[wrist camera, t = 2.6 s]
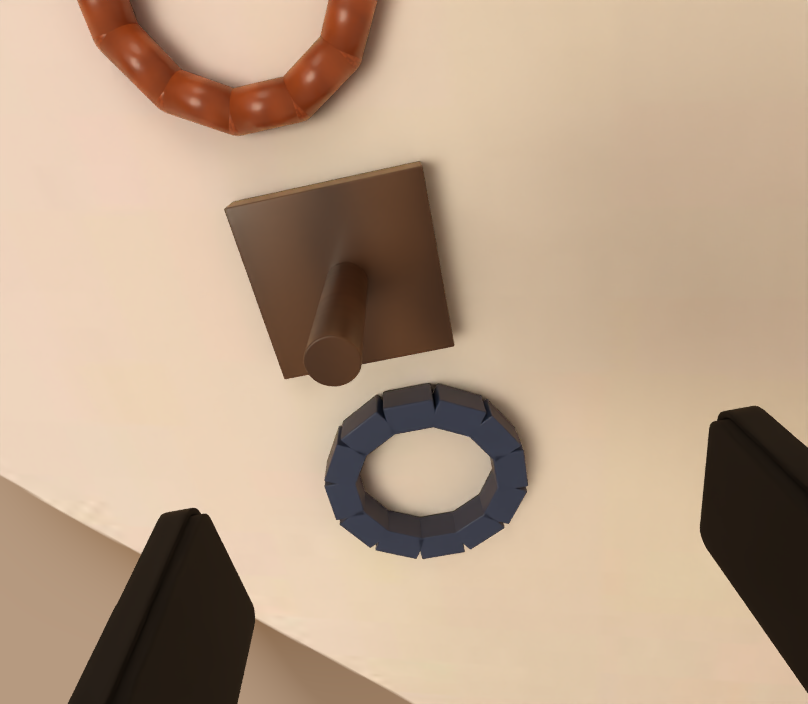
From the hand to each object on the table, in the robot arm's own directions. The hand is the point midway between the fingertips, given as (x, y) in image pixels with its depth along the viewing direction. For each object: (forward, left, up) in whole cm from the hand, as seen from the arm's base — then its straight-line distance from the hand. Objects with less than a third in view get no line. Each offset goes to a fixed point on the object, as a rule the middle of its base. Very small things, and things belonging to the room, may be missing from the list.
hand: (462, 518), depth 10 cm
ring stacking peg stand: (+3, +1, -18) cm, 19 cm away
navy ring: (+2, +14, -18) cm, 23 cm away
